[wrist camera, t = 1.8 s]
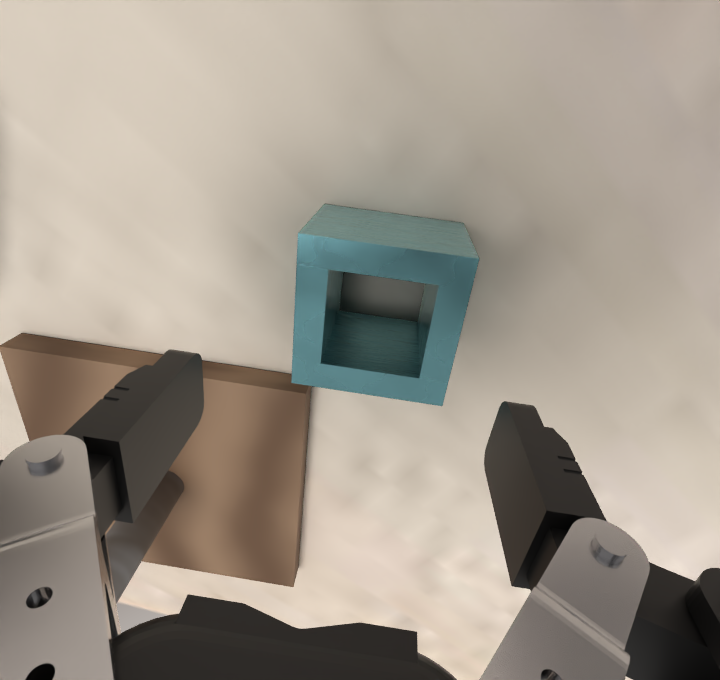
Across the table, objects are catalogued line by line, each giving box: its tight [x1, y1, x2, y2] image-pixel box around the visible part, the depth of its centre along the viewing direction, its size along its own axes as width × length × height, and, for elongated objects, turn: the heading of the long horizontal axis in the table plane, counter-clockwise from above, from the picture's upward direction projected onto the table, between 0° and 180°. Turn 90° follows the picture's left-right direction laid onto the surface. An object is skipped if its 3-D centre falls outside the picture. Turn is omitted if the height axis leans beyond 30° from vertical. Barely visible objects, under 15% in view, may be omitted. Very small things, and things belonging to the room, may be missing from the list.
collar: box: [291, 204, 479, 406], centre depth 18 cm, size 6×6×5 cm
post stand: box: [0, 333, 311, 603], centre depth 23 cm, size 16×16×10 cm
